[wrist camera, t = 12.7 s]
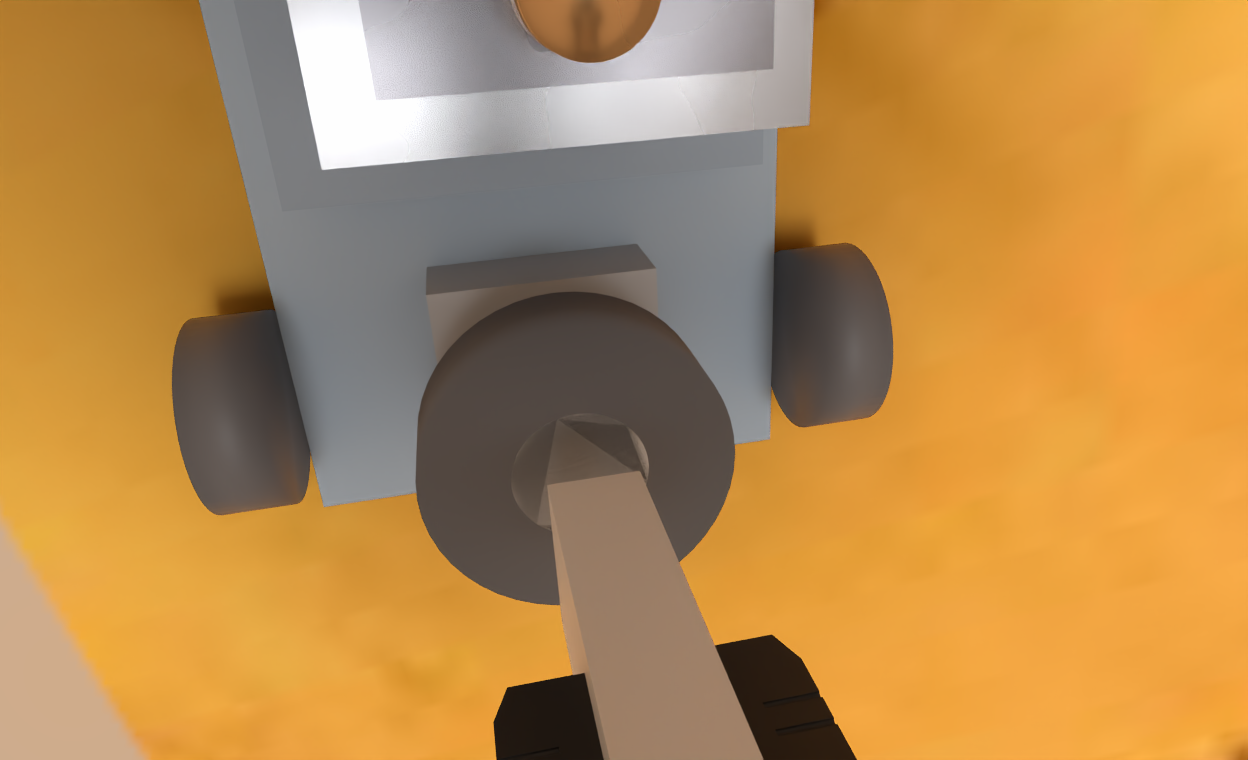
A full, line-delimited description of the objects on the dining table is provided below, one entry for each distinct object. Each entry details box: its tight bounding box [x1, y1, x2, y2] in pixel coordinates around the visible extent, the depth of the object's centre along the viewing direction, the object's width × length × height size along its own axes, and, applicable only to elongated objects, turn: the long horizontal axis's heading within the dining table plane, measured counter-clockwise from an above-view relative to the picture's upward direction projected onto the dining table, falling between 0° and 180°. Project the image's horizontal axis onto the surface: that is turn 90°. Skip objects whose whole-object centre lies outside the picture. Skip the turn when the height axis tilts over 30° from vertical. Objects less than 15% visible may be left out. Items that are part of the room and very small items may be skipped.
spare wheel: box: [415, 291, 735, 605], centre depth 17 cm, size 6×6×4 cm
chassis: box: [172, 0, 893, 515], centre depth 17 cm, size 20×15×4 cm
